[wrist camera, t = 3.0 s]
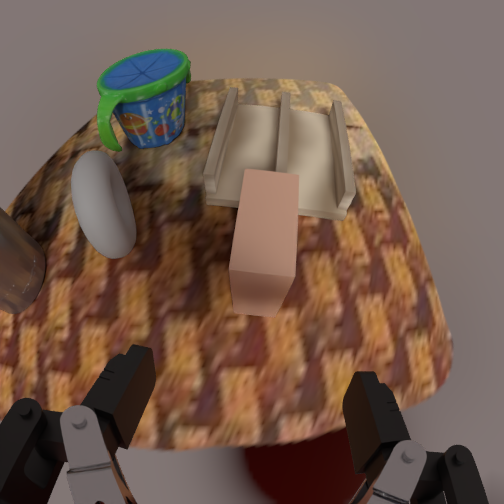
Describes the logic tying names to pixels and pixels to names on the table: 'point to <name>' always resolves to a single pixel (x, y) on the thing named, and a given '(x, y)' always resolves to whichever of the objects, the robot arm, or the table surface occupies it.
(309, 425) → the table surface
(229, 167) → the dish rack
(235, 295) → the pink rectangular block
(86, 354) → the table surface
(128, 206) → the grey ring
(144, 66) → the snack cup
